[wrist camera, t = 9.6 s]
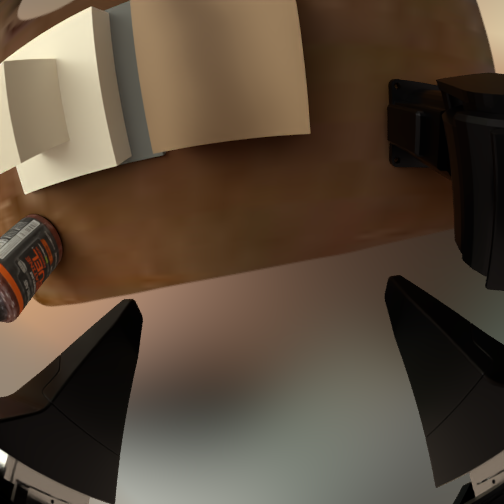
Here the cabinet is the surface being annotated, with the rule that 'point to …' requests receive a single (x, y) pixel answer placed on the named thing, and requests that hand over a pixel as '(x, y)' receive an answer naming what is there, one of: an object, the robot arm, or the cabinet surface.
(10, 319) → the supplement bottle
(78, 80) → the lid
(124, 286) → the cabinet surface
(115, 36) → the mat
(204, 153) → the cabinet surface
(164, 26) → the storage box
